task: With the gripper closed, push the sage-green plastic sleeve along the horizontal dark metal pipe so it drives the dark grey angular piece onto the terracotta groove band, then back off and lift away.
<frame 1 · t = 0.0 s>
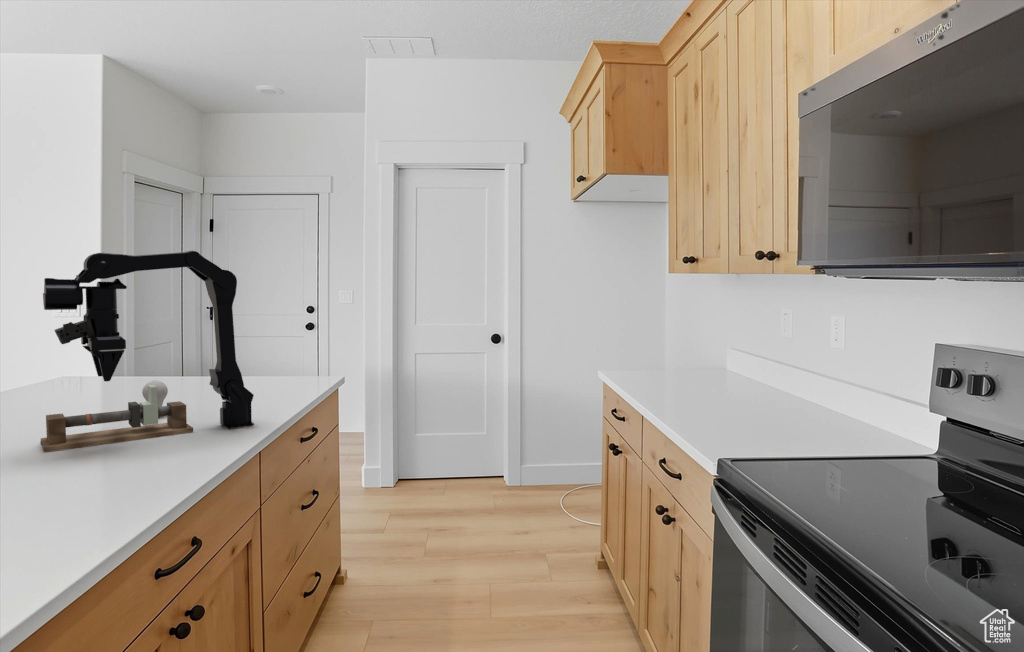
hand: (103, 378, 137), 15 cm above the worktop, tool pointing down, fingers open, 9 cm apart
sleeve: (148, 404, 146), point 7 cm above the worktop, slide at 0.0 cm
pipe stand: (120, 437, 143), on the worktop
dark grey angular piece: (134, 414, 144), point 5 cm above the worktop, slide at 0.0 cm
light bulb: (155, 417, 164), on the worktop
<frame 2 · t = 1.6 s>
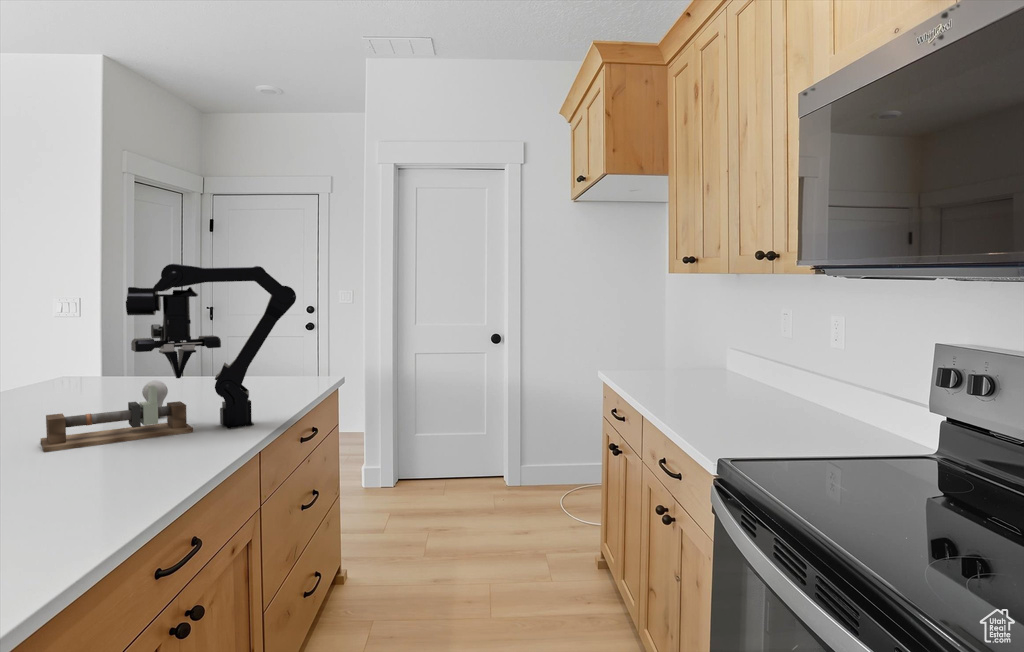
hand: (178, 378, 150), 13 cm above the worktop, tool pointing down, fingers closed
nothing on the worktop moved.
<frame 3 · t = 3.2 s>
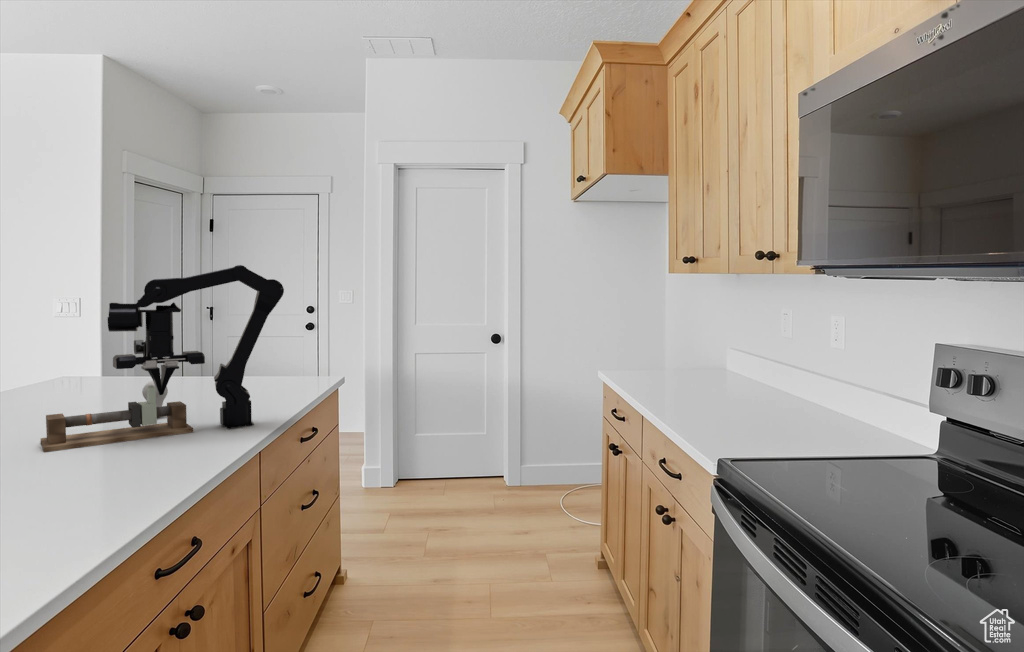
hand: (160, 394, 148), 9 cm above the worktop, tool pointing down, fingers closed
sleeve: (147, 404, 146), point 7 cm above the worktop, slide at 0.3 cm, touching gripper
everything else where it was.
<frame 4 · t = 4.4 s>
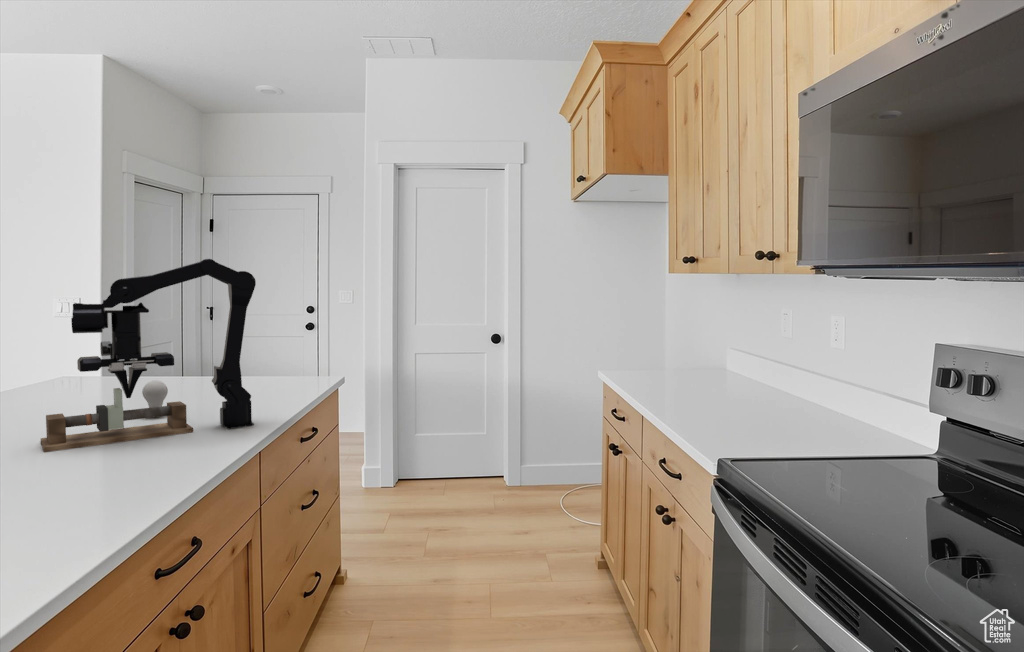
hand: (128, 397, 143), 9 cm above the worktop, tool pointing down, fingers closed
sleeve: (113, 408, 142), point 7 cm above the worktop, slide at 7.1 cm, touching gripper, dark grey angular piece
dark grey angular piece: (102, 418, 140), point 5 cm above the worktop, slide at 6.4 cm, touching sleeve
everything else where it was.
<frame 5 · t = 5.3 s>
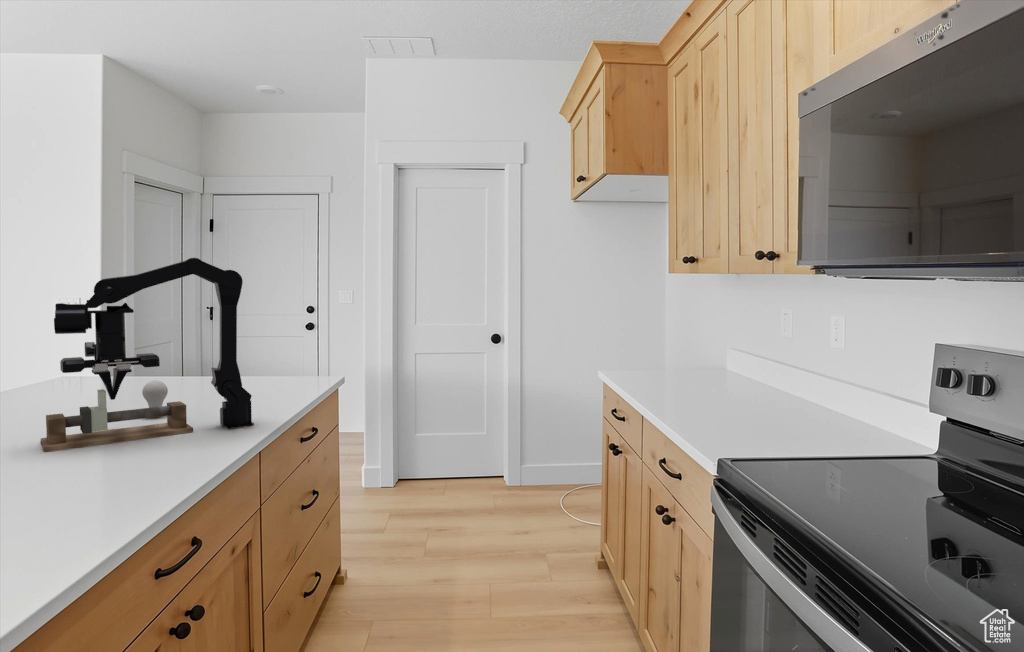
hand: (112, 399, 141), 9 cm above the worktop, tool pointing down, fingers closed
sleeve: (97, 409, 139), point 7 cm above the worktop, slide at 10.2 cm, touching gripper, dark grey angular piece
dark grey angular piece: (85, 419, 138), point 5 cm above the worktop, slide at 9.5 cm, touching sleeve
everything else where it was.
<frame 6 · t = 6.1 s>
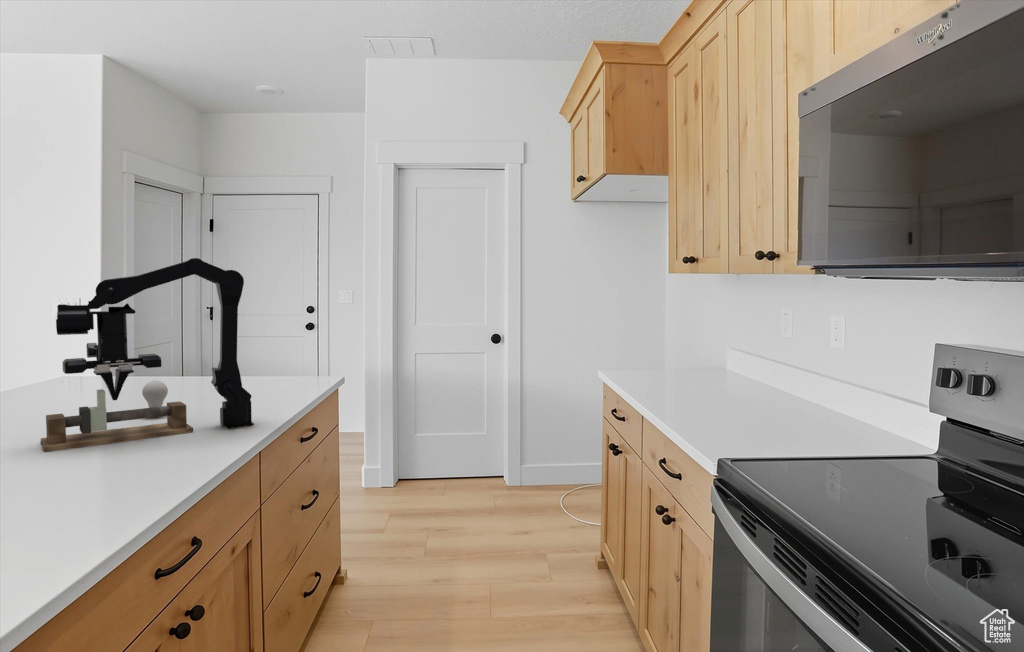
hand: (114, 400, 142), 9 cm above the worktop, tool pointing down, fingers closed
sleeve: (96, 410, 139), point 7 cm above the worktop, slide at 10.4 cm, touching dark grey angular piece
everything else where it was.
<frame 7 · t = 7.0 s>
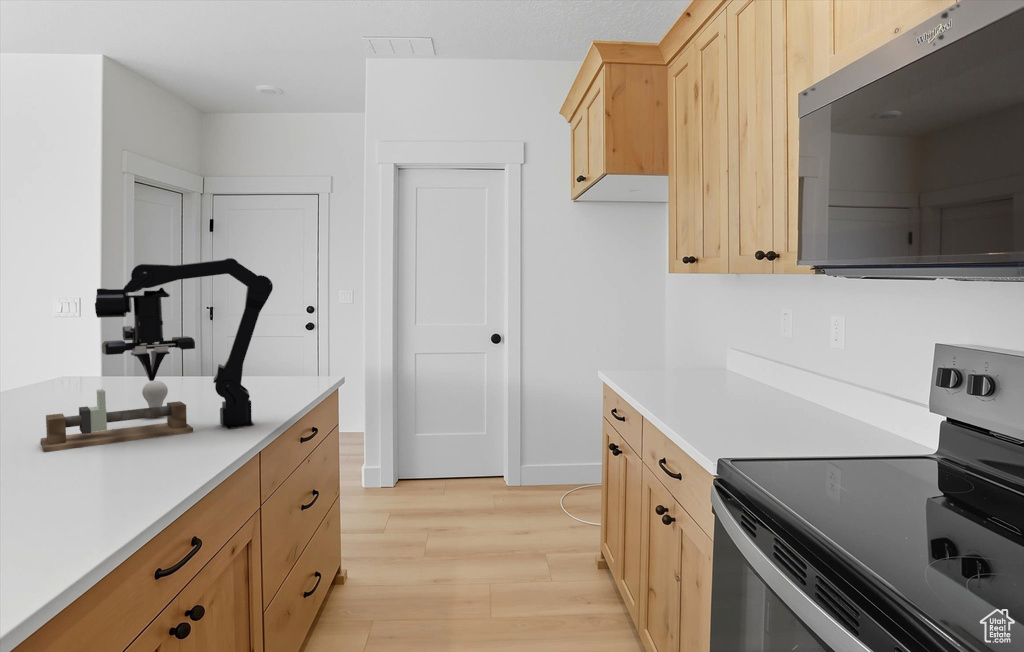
hand: (151, 380, 147), 13 cm above the worktop, tool pointing down, fingers closed
nothing on the worktop moved.
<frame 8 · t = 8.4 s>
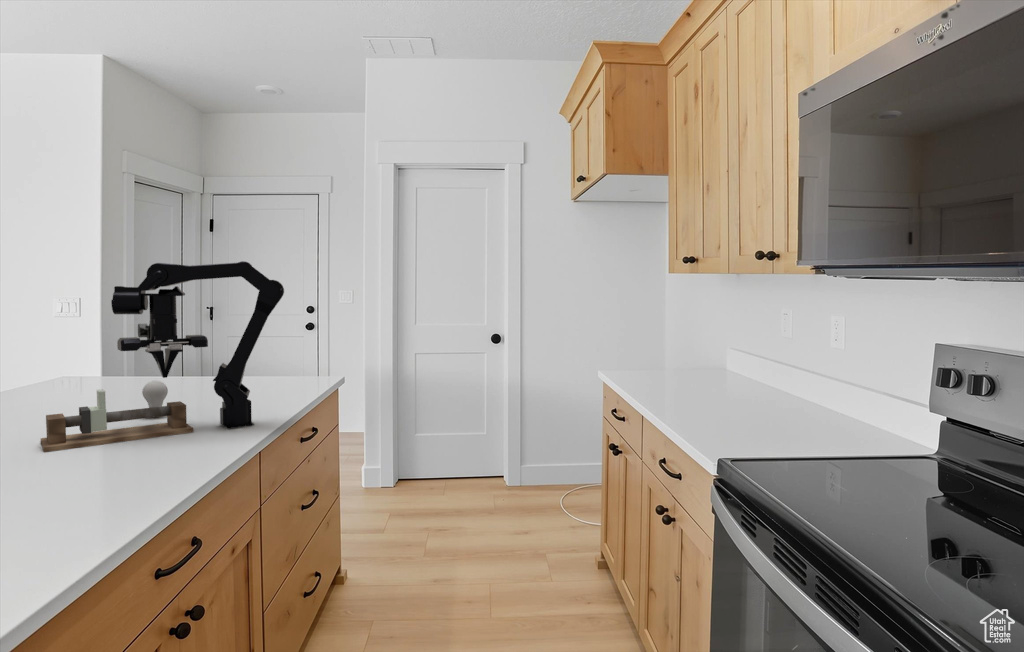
hand: (164, 377, 150), 13 cm above the worktop, tool pointing down, fingers closed
nothing on the worktop moved.
at the end: dark grey angular piece slide at 9.7 cm; sleeve slide at 10.4 cm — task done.
